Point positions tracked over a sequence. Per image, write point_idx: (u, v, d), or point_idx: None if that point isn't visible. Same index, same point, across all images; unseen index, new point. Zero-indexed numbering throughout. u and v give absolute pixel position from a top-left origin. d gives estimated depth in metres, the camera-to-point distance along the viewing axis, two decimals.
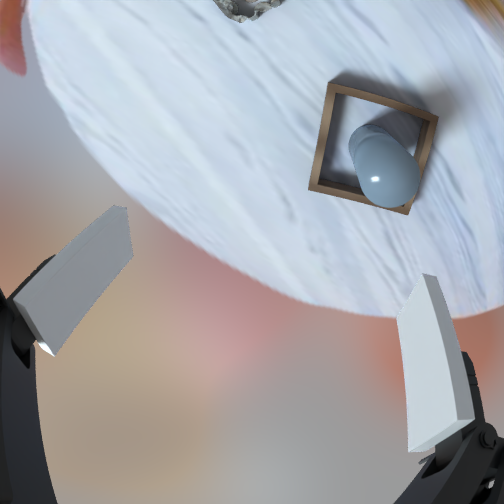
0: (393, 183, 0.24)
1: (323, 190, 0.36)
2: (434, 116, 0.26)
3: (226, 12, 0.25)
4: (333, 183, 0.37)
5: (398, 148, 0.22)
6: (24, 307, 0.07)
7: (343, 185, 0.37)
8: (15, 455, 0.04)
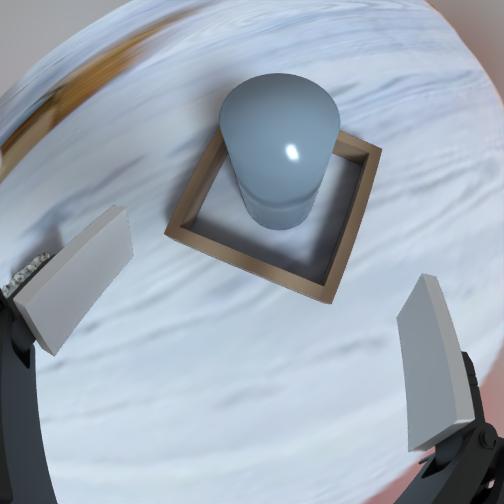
0: (291, 111, 0.13)
1: (336, 277, 0.21)
2: None
3: None
4: (329, 263, 0.23)
5: (226, 100, 0.14)
6: (24, 307, 0.07)
7: (335, 247, 0.23)
8: (15, 455, 0.04)
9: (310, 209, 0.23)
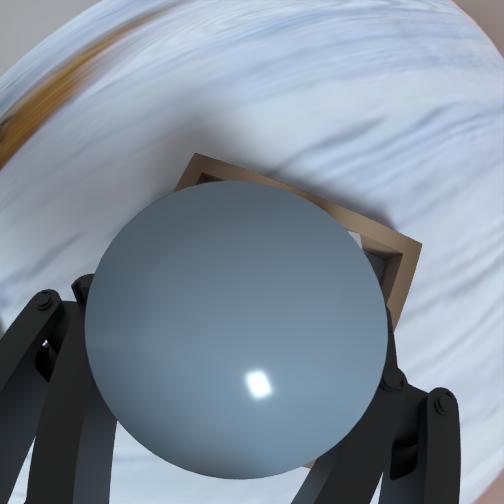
0: (254, 333, 0.05)
1: None
2: (193, 161, 0.16)
3: None
4: None
5: (97, 278, 0.05)
6: None
7: None
8: (84, 474, 0.04)
9: None
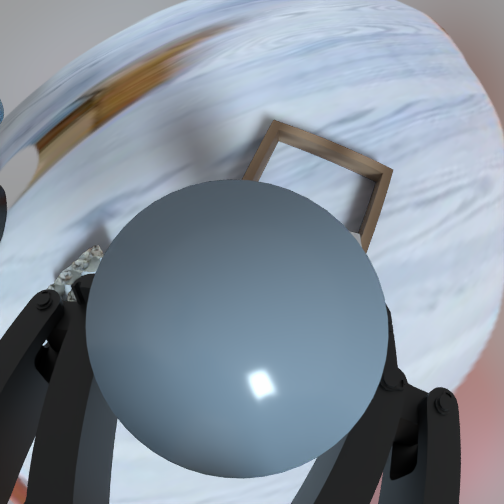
0: (255, 331, 0.05)
1: None
2: (273, 124, 0.29)
3: None
4: None
5: (98, 276, 0.05)
6: None
7: None
8: (84, 474, 0.04)
9: None
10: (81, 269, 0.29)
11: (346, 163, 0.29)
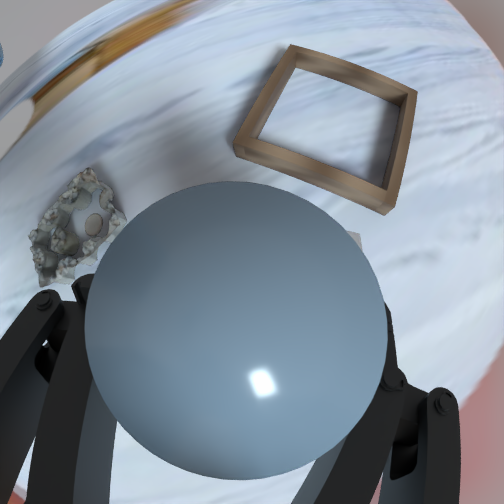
0: (254, 333, 0.05)
1: (395, 184, 0.21)
2: (290, 47, 0.24)
3: (100, 242, 0.22)
4: (385, 178, 0.23)
5: (97, 278, 0.05)
6: None
7: (388, 165, 0.23)
8: (84, 474, 0.04)
9: None
10: (69, 202, 0.23)
11: (368, 85, 0.24)
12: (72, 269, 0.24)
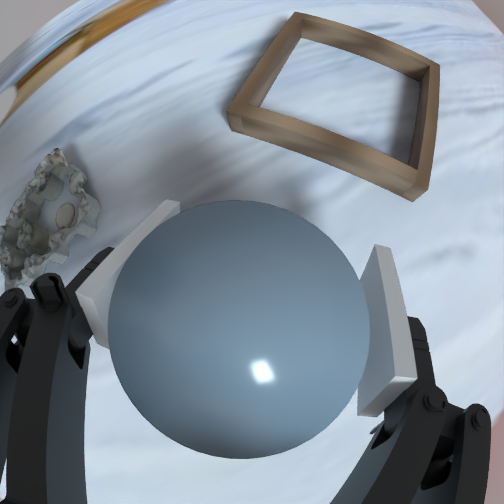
0: (256, 330, 0.06)
1: (427, 163, 0.16)
2: (294, 14, 0.19)
3: (67, 233, 0.17)
4: (412, 157, 0.18)
5: (119, 283, 0.06)
6: (91, 299, 0.08)
7: (414, 143, 0.18)
8: (55, 463, 0.04)
9: None
10: (37, 190, 0.18)
11: (385, 56, 0.19)
12: (42, 269, 0.19)
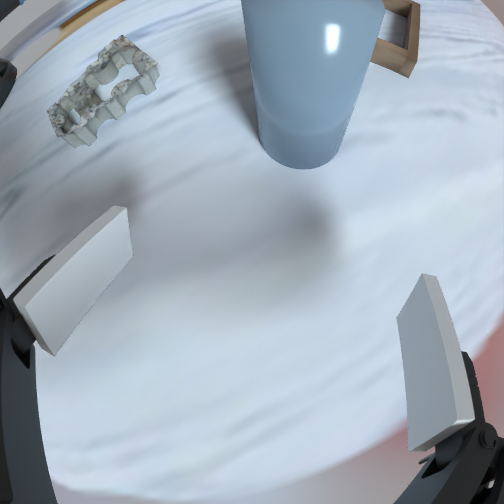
0: None
1: (414, 48, 0.18)
2: None
3: (136, 77, 0.19)
4: None
5: None
6: (24, 307, 0.07)
7: (404, 46, 0.20)
8: (15, 455, 0.04)
9: (340, 142, 0.18)
10: (98, 68, 0.20)
11: None
12: (95, 128, 0.21)
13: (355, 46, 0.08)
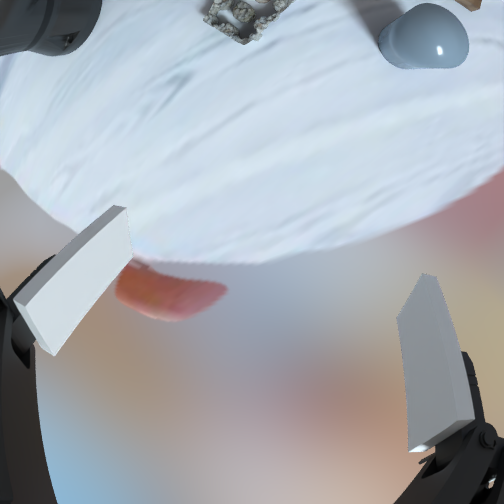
0: (444, 34, 0.14)
1: None
2: None
3: None
4: None
5: (407, 17, 0.14)
6: (24, 307, 0.07)
7: None
8: (15, 455, 0.04)
9: None
10: None
11: None
12: None
13: None
